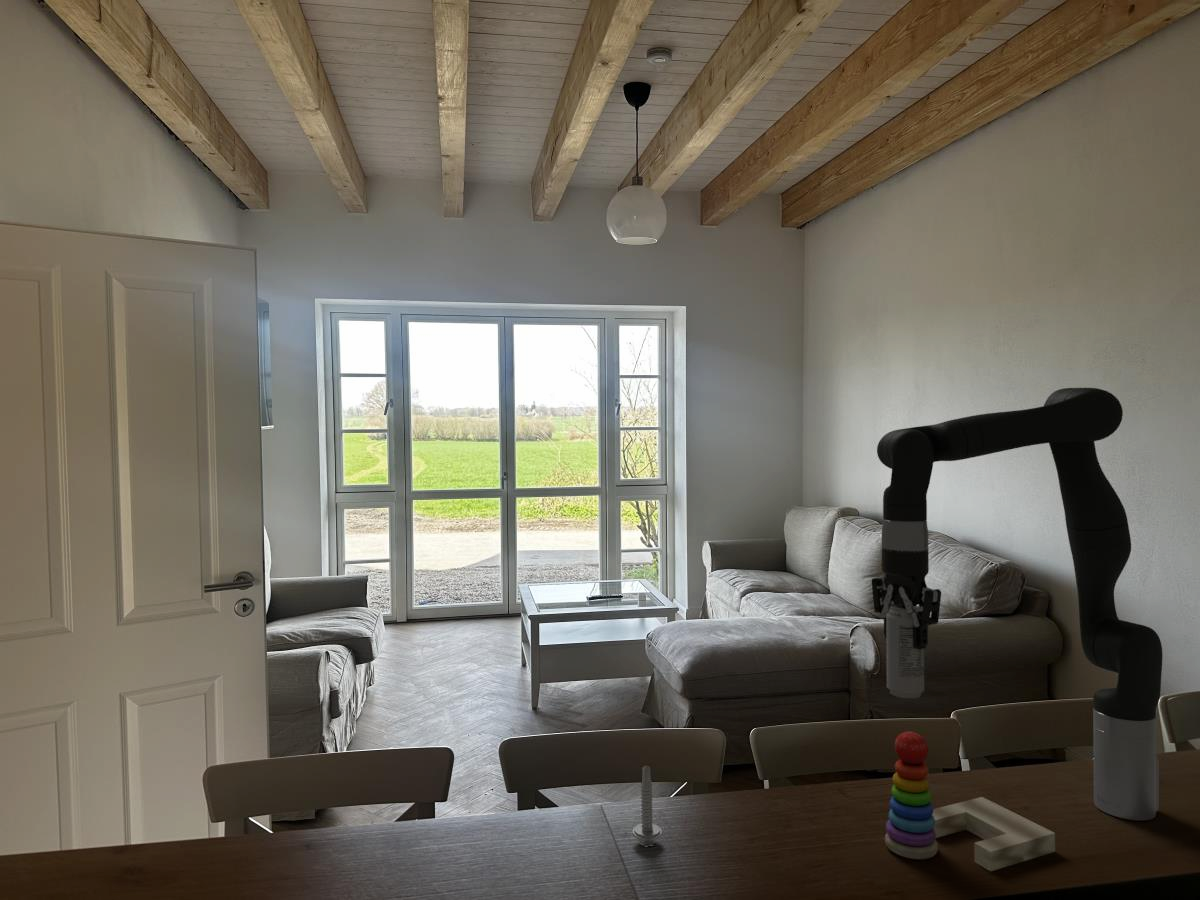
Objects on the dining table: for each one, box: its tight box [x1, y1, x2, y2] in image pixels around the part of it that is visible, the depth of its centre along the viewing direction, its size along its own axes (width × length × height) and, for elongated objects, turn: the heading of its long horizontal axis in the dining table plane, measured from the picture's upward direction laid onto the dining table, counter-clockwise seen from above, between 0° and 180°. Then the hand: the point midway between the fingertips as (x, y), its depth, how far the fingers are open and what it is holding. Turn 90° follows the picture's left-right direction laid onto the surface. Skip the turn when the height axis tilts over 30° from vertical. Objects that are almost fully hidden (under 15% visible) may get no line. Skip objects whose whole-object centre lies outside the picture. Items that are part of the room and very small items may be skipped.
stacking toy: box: [884, 730, 939, 860], centre depth 128 cm, size 8×8×19 cm
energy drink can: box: [886, 604, 925, 699], centre depth 136 cm, size 6×6×15 cm
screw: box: [632, 765, 663, 846], centre depth 131 cm, size 13×5×5 cm
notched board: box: [932, 796, 1056, 872], centre depth 130 cm, size 14×14×3 cm
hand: (905, 643), depth 136 cm, fingers closed on energy drink can, 6 cm apart
